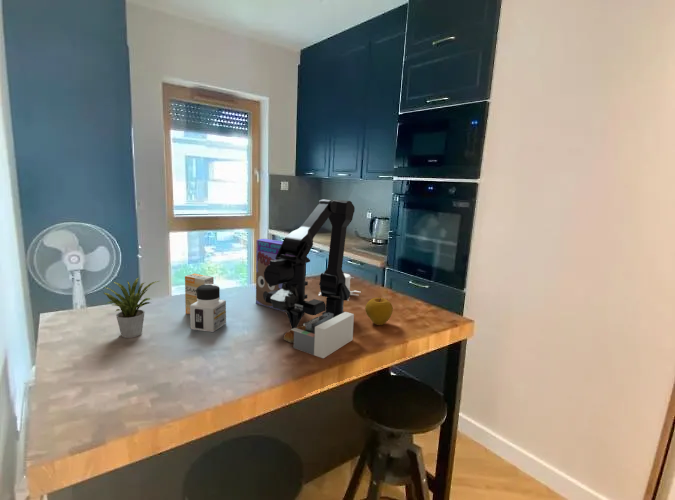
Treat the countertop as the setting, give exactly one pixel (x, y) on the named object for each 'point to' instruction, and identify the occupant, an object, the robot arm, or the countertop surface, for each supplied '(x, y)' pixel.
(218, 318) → the container
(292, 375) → the countertop surface
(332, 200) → the robot arm
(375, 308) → the apple
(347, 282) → the white wide pronged piece
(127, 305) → the house plant
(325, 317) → the gauge pad
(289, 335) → the pastry
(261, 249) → the cereal box
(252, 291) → the countertop surface
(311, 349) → the white grey open box
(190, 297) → the supplement box
